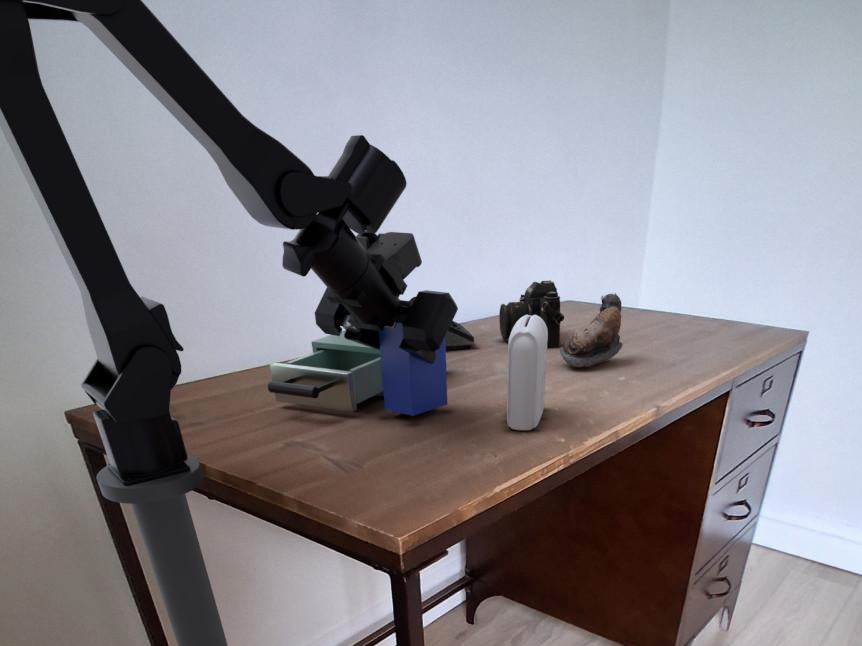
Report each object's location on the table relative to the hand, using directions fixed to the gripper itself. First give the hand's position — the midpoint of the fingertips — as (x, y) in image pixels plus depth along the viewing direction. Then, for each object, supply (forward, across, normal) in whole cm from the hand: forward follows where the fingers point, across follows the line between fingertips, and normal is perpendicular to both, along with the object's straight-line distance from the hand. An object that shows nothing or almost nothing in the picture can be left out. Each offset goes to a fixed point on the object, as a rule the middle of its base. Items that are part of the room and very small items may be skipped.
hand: (418, 357), depth 86 cm
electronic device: (+27, +26, -18) cm, 42 cm away
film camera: (+38, +12, -28) cm, 49 cm away
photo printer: (+9, -13, +1) cm, 16 cm away
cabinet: (+12, +15, -2) cm, 19 cm away
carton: (+4, 0, +5) cm, 6 cm away
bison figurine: (+31, -6, -21) cm, 38 cm away
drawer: (+2, +13, +7) cm, 15 cm away
